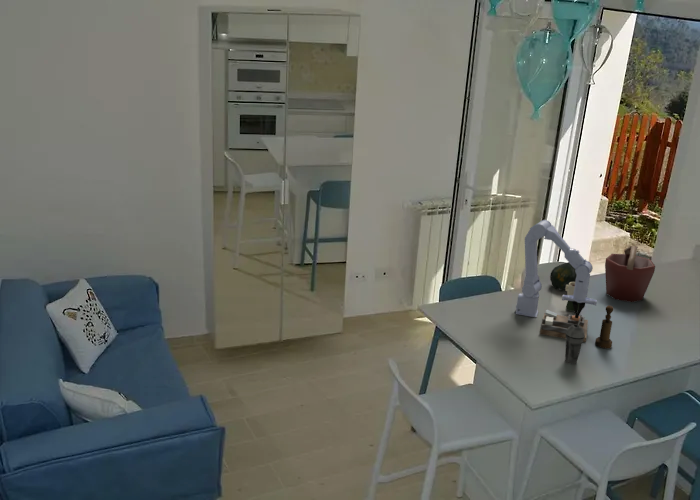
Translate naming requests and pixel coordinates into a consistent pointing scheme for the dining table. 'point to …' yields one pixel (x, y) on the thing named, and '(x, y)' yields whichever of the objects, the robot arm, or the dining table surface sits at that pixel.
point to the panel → (562, 326)
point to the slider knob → (549, 321)
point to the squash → (563, 276)
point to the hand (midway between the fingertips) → (576, 317)
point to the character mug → (570, 291)
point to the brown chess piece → (605, 330)
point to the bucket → (628, 275)
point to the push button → (575, 318)
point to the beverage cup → (573, 343)
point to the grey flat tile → (551, 313)
